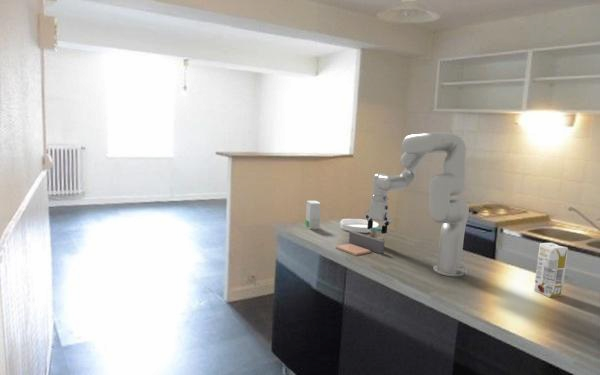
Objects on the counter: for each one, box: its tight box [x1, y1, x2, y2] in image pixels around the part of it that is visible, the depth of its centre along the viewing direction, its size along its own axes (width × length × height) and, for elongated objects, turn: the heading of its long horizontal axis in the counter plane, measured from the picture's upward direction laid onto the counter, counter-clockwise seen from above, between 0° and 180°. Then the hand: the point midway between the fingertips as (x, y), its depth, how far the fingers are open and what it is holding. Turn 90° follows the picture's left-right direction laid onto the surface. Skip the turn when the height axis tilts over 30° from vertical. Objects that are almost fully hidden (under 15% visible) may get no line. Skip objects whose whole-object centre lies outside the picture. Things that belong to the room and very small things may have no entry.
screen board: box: [348, 231, 385, 255], centre depth 214 cm, size 22×2×6 cm, turn 38°
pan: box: [339, 218, 380, 234], centre depth 255 cm, size 24×27×4 cm
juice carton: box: [533, 242, 569, 298], centre depth 161 cm, size 8×9×19 cm
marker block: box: [369, 226, 385, 242], centre depth 218 cm, size 5×5×9 cm
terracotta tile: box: [335, 243, 371, 256], centre depth 209 cm, size 14×10×1 cm
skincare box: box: [304, 200, 322, 230], centre depth 251 cm, size 8×7×16 cm
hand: (376, 230), depth 218 cm, fingers open, 9 cm apart
